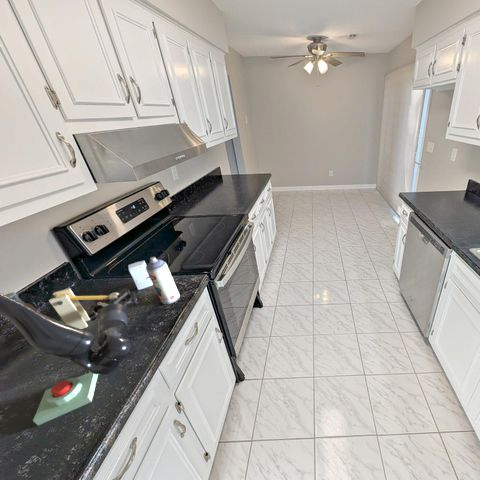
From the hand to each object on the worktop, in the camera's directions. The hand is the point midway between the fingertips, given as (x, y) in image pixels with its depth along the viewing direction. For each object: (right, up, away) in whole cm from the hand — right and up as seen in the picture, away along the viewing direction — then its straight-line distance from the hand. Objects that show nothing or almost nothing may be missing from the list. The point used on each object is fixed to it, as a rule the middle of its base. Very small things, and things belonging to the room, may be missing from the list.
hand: (114, 294), depth 96 cm
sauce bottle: (-19, -14, -6) cm, 25 cm away
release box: (+9, -23, -27) cm, 36 cm away
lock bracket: (-9, -12, -3) cm, 15 cm away
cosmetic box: (+1, 0, +17) cm, 17 cm away
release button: (+9, -20, -28) cm, 36 cm away
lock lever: (-5, -2, -5) cm, 7 cm away
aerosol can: (+17, -4, +8) cm, 19 cm away
